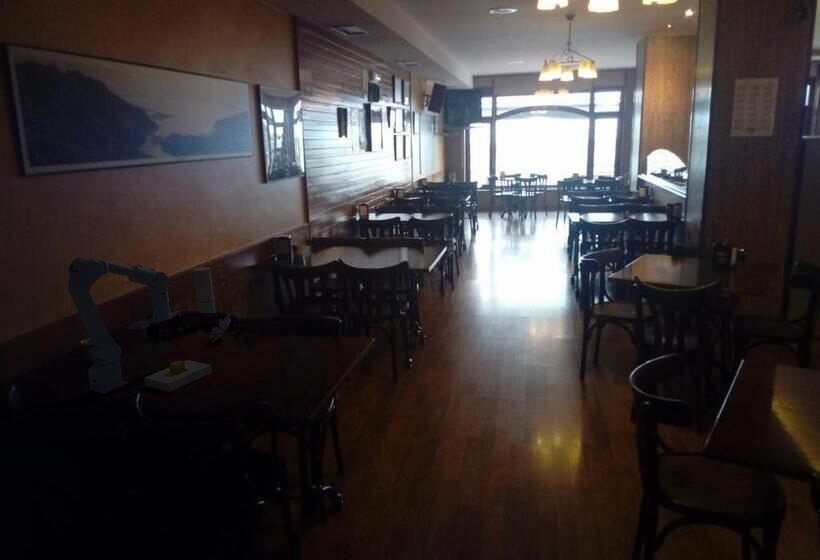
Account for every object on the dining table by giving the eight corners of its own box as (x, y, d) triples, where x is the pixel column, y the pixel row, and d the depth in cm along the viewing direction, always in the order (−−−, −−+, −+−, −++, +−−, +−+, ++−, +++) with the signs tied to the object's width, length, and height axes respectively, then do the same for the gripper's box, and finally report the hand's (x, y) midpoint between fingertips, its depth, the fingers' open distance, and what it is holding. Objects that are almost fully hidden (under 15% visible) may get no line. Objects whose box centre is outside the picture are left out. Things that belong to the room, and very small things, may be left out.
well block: (169, 392, 202) (168, 383, 201) (145, 386, 208) (144, 377, 207) (212, 372, 217) (211, 364, 217) (188, 367, 223) (187, 359, 223)
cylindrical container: (218, 321, 280) (212, 266, 274) (214, 325, 273) (207, 270, 267) (202, 321, 280) (195, 267, 274) (198, 326, 273) (190, 271, 267)
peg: (178, 382, 210) (175, 365, 209) (171, 380, 212) (169, 363, 211) (186, 378, 213) (184, 362, 212) (179, 376, 215) (177, 360, 214)
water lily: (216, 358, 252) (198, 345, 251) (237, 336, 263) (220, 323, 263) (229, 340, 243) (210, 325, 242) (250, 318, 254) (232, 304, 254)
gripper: (150, 310, 213) (156, 348, 217) (184, 300, 226) (189, 336, 229) (137, 308, 217) (143, 345, 220) (171, 298, 229) (176, 333, 232)
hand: (165, 340), depth 225 cm, fingers open, 7 cm apart
